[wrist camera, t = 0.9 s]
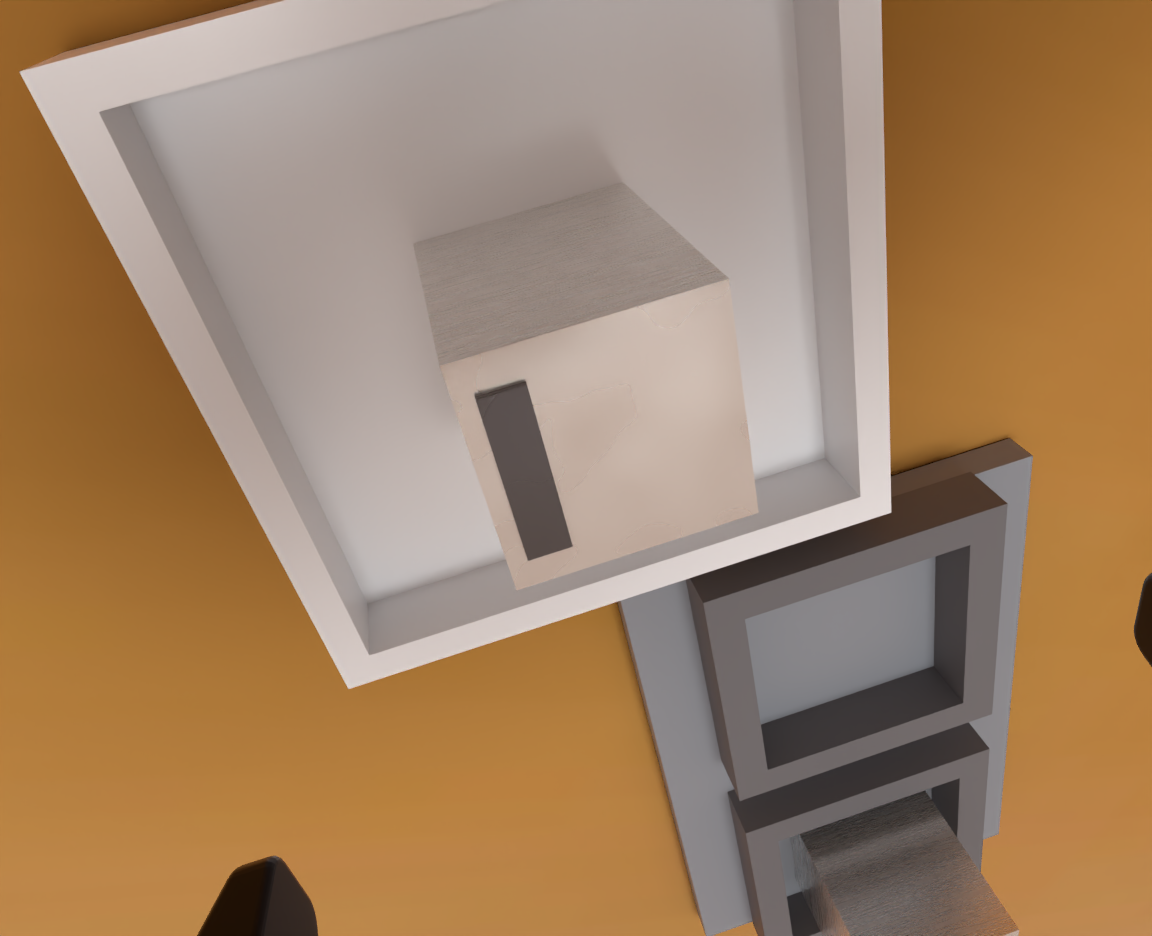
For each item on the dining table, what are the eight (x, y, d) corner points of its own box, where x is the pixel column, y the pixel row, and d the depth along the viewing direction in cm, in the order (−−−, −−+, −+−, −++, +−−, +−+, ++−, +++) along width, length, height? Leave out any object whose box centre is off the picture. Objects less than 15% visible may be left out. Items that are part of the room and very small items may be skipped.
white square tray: (810, -149, 16) (878, -160, 14) (844, 462, 24) (891, 512, 22) (63, 51, 15) (18, 72, 13) (348, 620, 23) (348, 689, 21)
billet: (908, 765, 30) (1021, 933, 25) (908, 839, 33) (1012, 1007, 28) (786, 807, 30) (876, 987, 25) (795, 879, 33) (880, 1056, 27)
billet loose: (623, 181, 18) (731, 281, 13) (658, 371, 21) (761, 516, 16) (412, 243, 18) (439, 369, 13) (474, 428, 20) (517, 595, 15)
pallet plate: (1009, 433, 25) (1073, 481, 23) (982, 814, 35) (1025, 873, 33) (607, 563, 24) (633, 625, 22) (698, 915, 34) (722, 981, 32)
